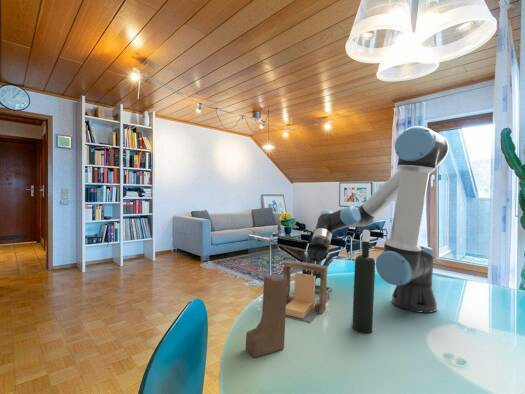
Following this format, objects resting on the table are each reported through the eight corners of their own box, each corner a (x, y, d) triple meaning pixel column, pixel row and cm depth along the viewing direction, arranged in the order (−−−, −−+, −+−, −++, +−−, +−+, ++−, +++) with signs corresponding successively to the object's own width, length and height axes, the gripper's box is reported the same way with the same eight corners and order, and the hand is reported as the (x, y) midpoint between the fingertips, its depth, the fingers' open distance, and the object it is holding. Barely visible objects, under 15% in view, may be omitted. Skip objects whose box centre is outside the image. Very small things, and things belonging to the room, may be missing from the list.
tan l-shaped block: (295, 302, 104) (297, 272, 104) (314, 306, 101) (315, 275, 101) (282, 313, 94) (284, 280, 94) (303, 318, 90) (304, 284, 91)
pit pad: (313, 287, 126) (313, 284, 126) (331, 290, 123) (331, 287, 123) (308, 291, 119) (308, 289, 119) (327, 295, 116) (327, 292, 116)
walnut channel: (297, 292, 117) (299, 255, 117) (333, 300, 110) (335, 260, 111) (282, 304, 103) (284, 262, 103) (322, 314, 96) (324, 268, 96)
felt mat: (287, 304, 104) (287, 303, 104) (319, 311, 99) (320, 310, 99) (275, 314, 94) (275, 313, 94) (310, 322, 89) (310, 321, 89)
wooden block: (253, 358, 67) (257, 282, 68) (244, 349, 71) (248, 277, 71) (284, 349, 72) (287, 278, 72) (274, 341, 76) (277, 274, 76)
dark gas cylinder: (348, 326, 87) (352, 229, 88) (362, 324, 90) (366, 229, 90) (361, 335, 82) (365, 231, 82) (376, 332, 84) (380, 231, 85)
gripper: (337, 249, 119) (326, 301, 104) (307, 245, 125) (292, 294, 110) (335, 237, 114) (322, 290, 99) (304, 234, 120) (287, 284, 105)
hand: (306, 292), depth 104 cm, fingers closed
